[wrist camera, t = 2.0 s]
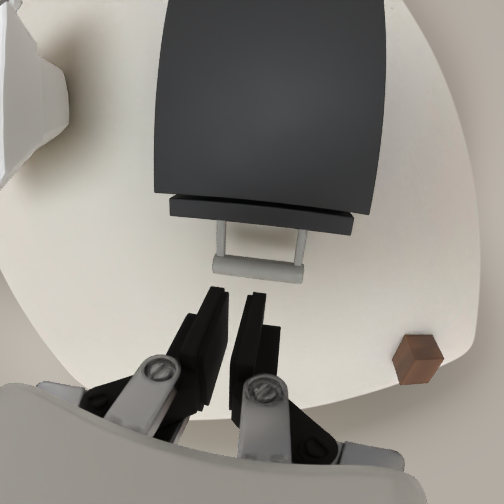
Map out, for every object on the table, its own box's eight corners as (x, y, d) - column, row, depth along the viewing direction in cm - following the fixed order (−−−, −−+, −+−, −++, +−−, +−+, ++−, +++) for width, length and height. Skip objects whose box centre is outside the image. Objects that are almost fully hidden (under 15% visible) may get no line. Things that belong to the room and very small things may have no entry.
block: (432, 334, 28) (444, 358, 24) (418, 359, 30) (428, 383, 26) (404, 334, 29) (415, 360, 24) (391, 359, 31) (399, 385, 26)
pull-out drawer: (322, 261, 25) (332, 310, 18) (204, 247, 26) (174, 290, 19) (346, 56, 17) (371, 24, 10) (213, 46, 18) (180, 14, 11)
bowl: (121, 151, 24) (13, 181, 11) (27, 197, 28) (-45, 234, 15) (101, 12, 17) (15, -17, 4) (11, 86, 21) (-60, 96, 8)
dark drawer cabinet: (340, 184, 23) (369, 215, 14) (201, 170, 24) (153, 193, 15) (352, 34, 17) (382, -11, 8) (212, 25, 18) (172, -21, 9)
